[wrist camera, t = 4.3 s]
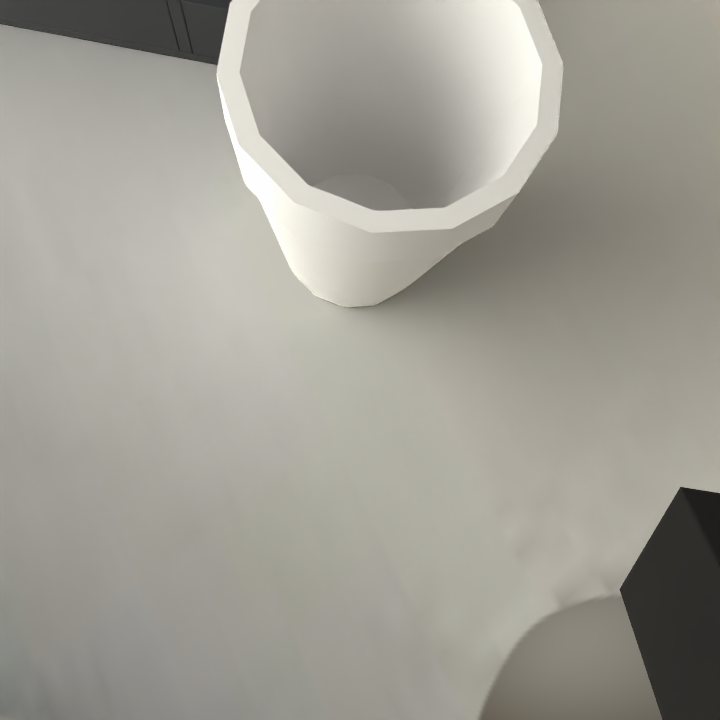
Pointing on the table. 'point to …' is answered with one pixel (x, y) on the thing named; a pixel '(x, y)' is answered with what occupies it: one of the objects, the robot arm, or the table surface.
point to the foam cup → (385, 128)
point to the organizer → (129, 23)
